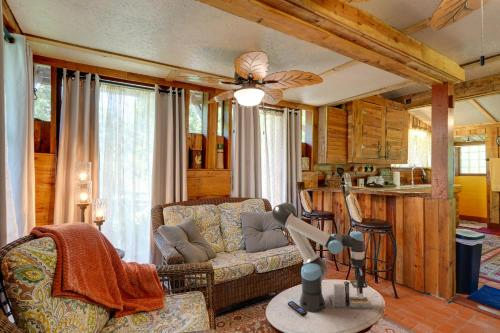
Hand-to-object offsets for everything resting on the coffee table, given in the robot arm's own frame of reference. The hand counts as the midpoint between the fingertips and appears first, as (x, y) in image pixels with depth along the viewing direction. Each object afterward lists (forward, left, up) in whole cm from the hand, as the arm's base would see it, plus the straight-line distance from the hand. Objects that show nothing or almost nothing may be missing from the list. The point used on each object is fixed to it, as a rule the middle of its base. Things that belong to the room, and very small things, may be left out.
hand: (360, 296), depth 163 cm
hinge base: (-6, 0, -4) cm, 7 cm away
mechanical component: (0, 0, -1) cm, 1 cm away
